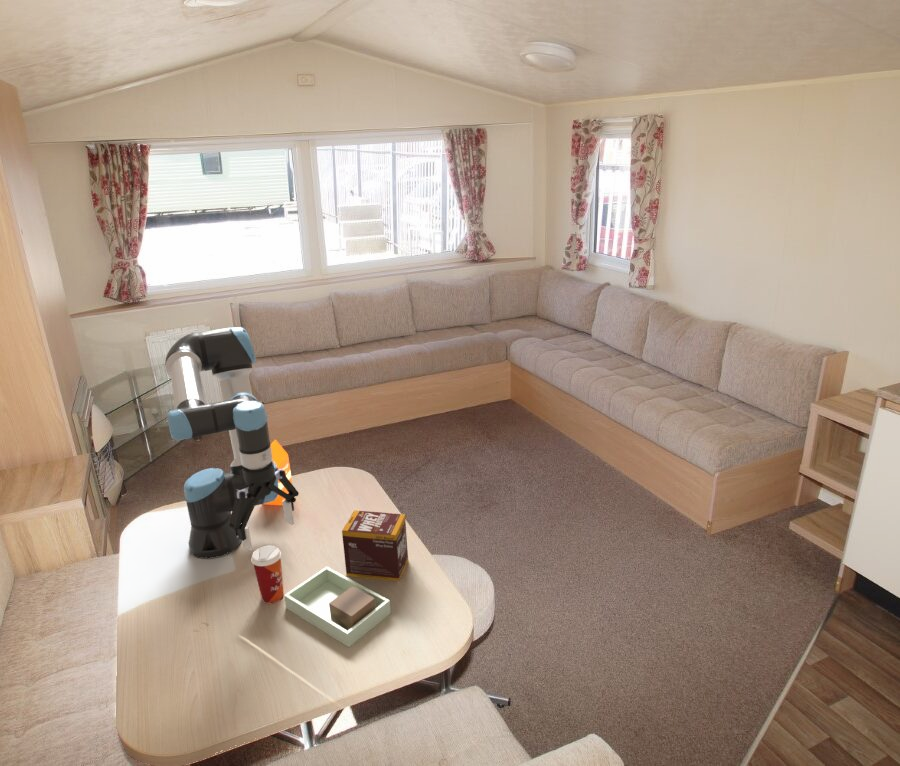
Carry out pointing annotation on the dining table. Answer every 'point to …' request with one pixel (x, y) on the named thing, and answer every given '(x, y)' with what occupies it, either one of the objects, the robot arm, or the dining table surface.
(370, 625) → the tote
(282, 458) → the orange juice
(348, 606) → the walnut block
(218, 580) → the dining table surface
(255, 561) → the paper cup
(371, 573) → the supplement box
